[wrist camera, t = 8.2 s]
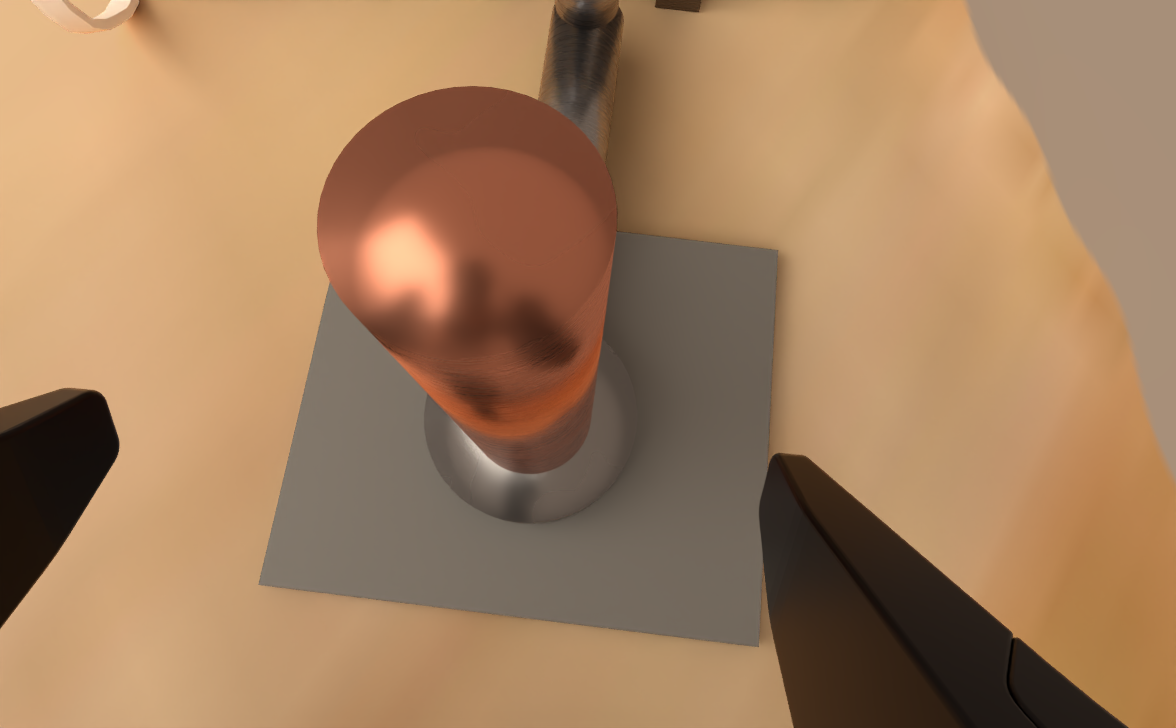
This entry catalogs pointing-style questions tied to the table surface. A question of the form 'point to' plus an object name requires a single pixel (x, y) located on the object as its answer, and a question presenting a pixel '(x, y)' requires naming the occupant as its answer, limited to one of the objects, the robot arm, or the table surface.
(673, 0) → the brown square arch
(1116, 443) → the table surface
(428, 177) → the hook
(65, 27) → the cup
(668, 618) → the mat
